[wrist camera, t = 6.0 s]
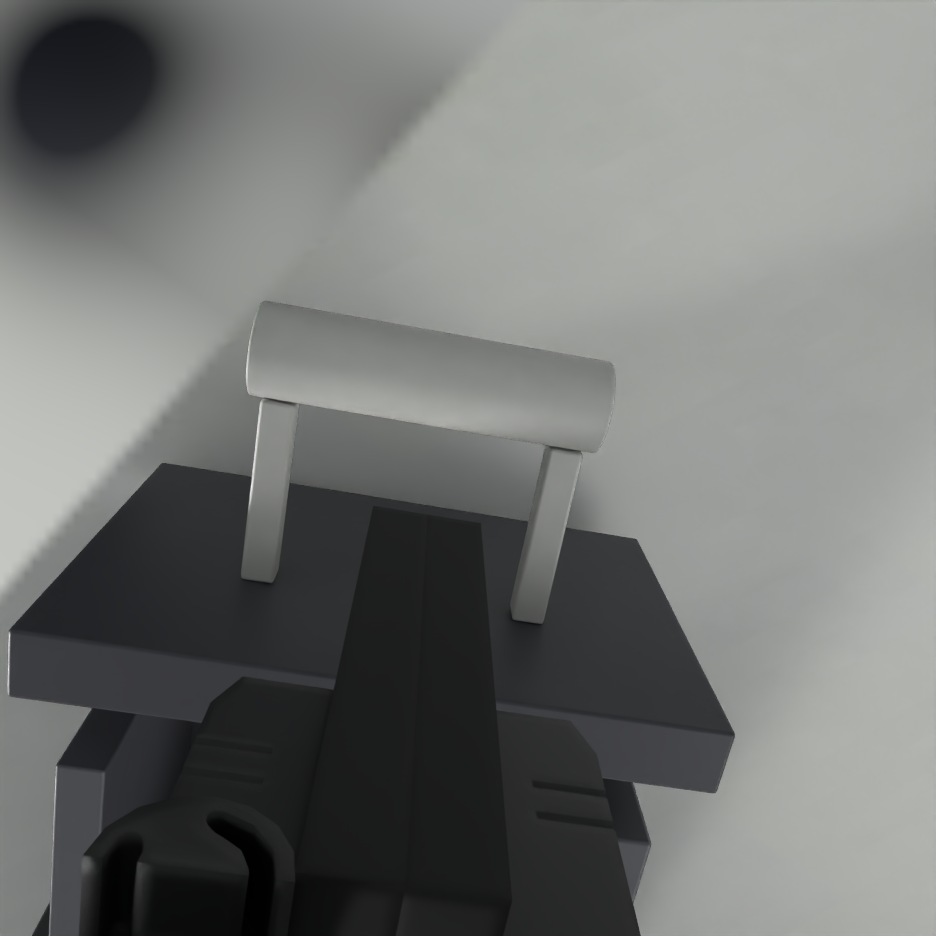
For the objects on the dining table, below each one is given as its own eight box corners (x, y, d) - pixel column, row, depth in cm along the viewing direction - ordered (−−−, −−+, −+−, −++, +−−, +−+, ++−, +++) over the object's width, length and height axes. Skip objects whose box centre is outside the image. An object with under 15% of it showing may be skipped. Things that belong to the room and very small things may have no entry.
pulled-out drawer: (178, 243, 19) (13, 298, 12) (691, 336, 20) (834, 441, 13) (127, 911, 25) (-5, 1224, 18) (525, 958, 26) (557, 1276, 19)
